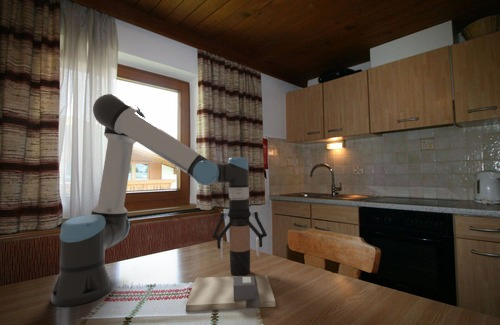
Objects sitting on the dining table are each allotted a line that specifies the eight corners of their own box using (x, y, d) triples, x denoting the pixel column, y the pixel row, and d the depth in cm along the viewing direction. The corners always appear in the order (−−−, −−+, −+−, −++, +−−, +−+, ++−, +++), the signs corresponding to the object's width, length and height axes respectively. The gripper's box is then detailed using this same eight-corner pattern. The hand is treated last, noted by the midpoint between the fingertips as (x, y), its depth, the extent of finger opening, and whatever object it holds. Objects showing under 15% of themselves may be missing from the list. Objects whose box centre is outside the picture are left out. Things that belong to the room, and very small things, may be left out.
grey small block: (233, 300, 68) (233, 284, 68) (233, 290, 74) (233, 276, 74) (255, 299, 69) (255, 283, 69) (253, 289, 75) (253, 275, 75)
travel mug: (250, 276, 88) (249, 219, 89) (228, 277, 88) (228, 219, 90) (250, 268, 96) (249, 216, 97) (230, 269, 96) (230, 216, 97)
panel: (185, 311, 66) (185, 305, 66) (196, 282, 84) (196, 277, 84) (275, 306, 68) (275, 300, 68) (266, 279, 86) (266, 274, 86)
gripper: (204, 200, 89) (205, 261, 88) (273, 198, 91) (274, 258, 90) (206, 198, 97) (207, 254, 95) (270, 197, 98) (271, 252, 97)
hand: (240, 256), depth 92 cm, fingers open, 13 cm apart
